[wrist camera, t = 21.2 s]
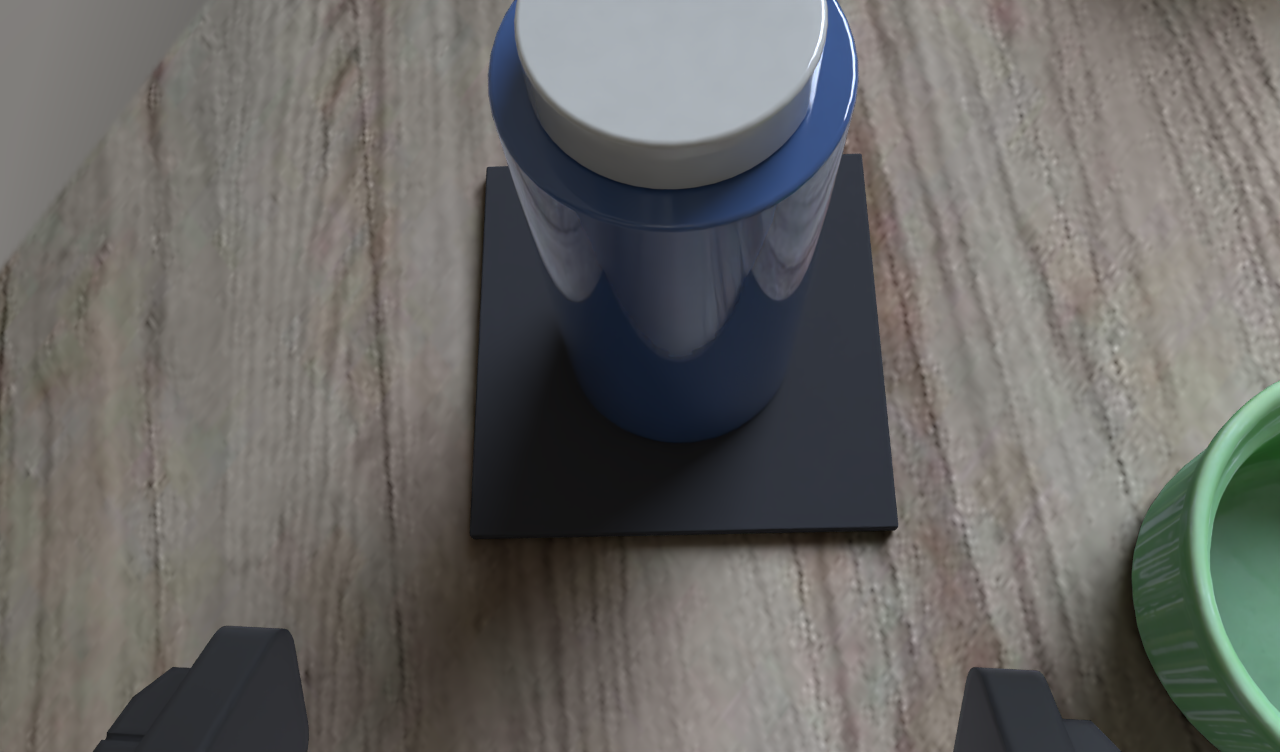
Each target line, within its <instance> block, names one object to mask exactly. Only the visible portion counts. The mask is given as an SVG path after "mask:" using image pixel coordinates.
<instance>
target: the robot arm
mask: <svg viewBox="0 0 1280 752" xmlns="http://www.w3.org/2000/svg"><path fill="white" fill-rule="evenodd" d="M308 741H309V727H308V719H307V714H306V708H305V702H304V696H303V690H302V685H301V679H300V673H299V667H298V661H297V655H296V650H295V644H294V640H293V637H292V635H291V633H290V632H289V631H288V630H287V629H280V628H261V627H242V626H223V627H221V628H220V629H219V630H218V631H217V632H216V633H215V634H214V635H213V637H212V638H211V640H210V641H209V643H208V644H207V645H206V647H205V648H204V650H203V651H202V653H201V654H200V656H199V657H198V659H197V660H196V661H195V663H194V664H193V666H192V667H191V668H179V667H172V668H171V669H170V670H168V671H167V672H166V673H164V674H163V675H162V676H160V677H159V678H158V679H156V680H155V681H154V682H152V683H151V684H150V685H148V686H147V687H146V688H144V689H143V690H142V691H140V692H139V693H138V694H136V695H135V696H134V697H133V698H132V699H131V700H130V702H129V703H128V705H127V706H126V707H125V709H124V710H123V711H122V713H121V714H120V715H119V717H118V718H117V719H116V721H115V722H114V724H113V725H112V726H111V728H110V729H109V730H108V732H107V737H106V739H105V740H101V741H100V743H99V744H98V745H97V747H96V748H95V749H94V751H93V752H307V750H308ZM953 752H1121V751H1120V750H1119V749H1118V748H1117V747H1116V746H1115V745H1114V744H1113V743H1112V742H1111V741H1110V739H1109V738H1108V737H1107V736H1106V735H1105V734H1104V733H1103V732H1102V731H1101V730H1100V729H1099V728H1098V727H1097V726H1096V725H1095V724H1094V723H1093V722H1092V721H1091V720H1075V719H1062V717H1061V715H1060V712H1059V710H1058V708H1057V705H1056V703H1055V700H1054V698H1053V696H1052V693H1051V691H1050V688H1049V686H1048V684H1047V681H1046V679H1045V677H1044V676H1043V674H1042V673H1041V672H1040V671H1036V670H1017V669H998V668H979V667H973V668H971V669H970V671H969V673H968V676H967V680H966V685H965V690H964V696H963V701H962V707H961V712H960V718H959V723H958V729H957V734H956V740H955V745H954V751H953Z"/></svg>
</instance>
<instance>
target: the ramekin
mask: <svg viewBox="0 0 1280 752" xmlns="http://www.w3.org/2000/svg"><path fill="white" fill-rule="evenodd" d="M1131 577H1132V589H1133V602H1134V608H1135V614H1136V621H1137V626H1138V629H1139V633H1140V636H1141V639H1142V642H1143V646H1144V649H1145V651H1146V653H1147V656H1148V658H1149V660H1150V662H1151V664H1152V666H1153V668H1154V670H1155V672H1156V674H1157V676H1158V678H1159V679H1160V681H1161V683H1162V684H1163V686H1164V688H1165V689H1166V691H1167V692H1168V694H1169V696H1170V698H1171V699H1172V700H1173V702H1174V703H1175V704H1176V705H1177V706H1178V708H1179V709H1180V710H1181V711H1182V713H1183V714H1184V715H1185V717H1186V718H1187V719H1188V721H1189V722H1190V723H1191V724H1192V725H1193V726H1194V727H1195V728H1196V729H1197V730H1198V731H1199V732H1200V733H1201V734H1202V735H1203V736H1204V737H1205V738H1206V739H1207V740H1208V741H1209V742H1210V743H1211V744H1213V745H1214V746H1215V747H1216V748H1218V749H1219V750H1220V751H1221V752H1280V381H1278V382H1276V383H1274V384H1272V385H1271V386H1269V387H1267V388H1266V389H1264V390H1263V391H1262V392H1260V393H1259V394H1257V395H1256V396H1255V397H1253V398H1252V399H1250V400H1249V401H1248V402H1247V403H1246V404H1245V405H1244V406H1242V407H1241V408H1240V409H1239V410H1238V411H1237V412H1236V413H1235V414H1234V415H1233V416H1232V417H1231V418H1230V419H1229V420H1228V421H1227V423H1226V424H1225V425H1224V426H1223V427H1222V428H1221V429H1220V430H1219V431H1218V433H1217V434H1216V435H1215V437H1214V438H1213V440H1212V441H1211V443H1210V444H1209V446H1208V447H1207V449H1205V450H1204V451H1203V452H1202V453H1200V454H1199V455H1198V456H1197V457H1195V458H1194V459H1193V460H1191V461H1190V462H1189V463H1188V464H1186V465H1185V466H1184V467H1183V468H1182V469H1181V470H1180V471H1179V472H1178V473H1177V474H1176V475H1175V476H1174V477H1173V478H1172V479H1171V480H1170V481H1169V482H1168V483H1167V484H1166V485H1165V487H1164V488H1163V489H1162V491H1161V492H1160V494H1159V495H1158V496H1157V498H1156V499H1155V501H1154V502H1153V504H1152V505H1151V506H1150V508H1149V510H1148V512H1147V514H1146V516H1145V518H1144V520H1143V523H1142V525H1141V528H1140V531H1139V535H1138V539H1137V543H1136V546H1135V550H1134V555H1133V566H1132V576H1131Z"/></svg>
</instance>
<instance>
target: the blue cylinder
mask: <svg viewBox="0 0 1280 752" xmlns="http://www.w3.org/2000/svg"><path fill="white" fill-rule="evenodd" d="M858 82H859V77H858V57H857V52H856V46H855V41H854V38H853V35H852V32H851V29H850V26H849V23H848V21H847V19H846V17H845V15H844V13H843V11H842V9H841V7H840V5H839V3H838V1H837V0H514V1H513V3H512V4H511V6H510V8H509V9H508V11H507V12H506V14H505V16H504V18H503V20H502V23H501V25H500V27H499V29H498V32H497V34H496V37H495V40H494V44H493V48H492V51H491V55H490V62H489V70H488V96H489V102H490V107H491V112H492V117H493V120H494V123H495V126H496V129H497V133H498V136H499V139H500V142H501V145H502V148H503V152H504V155H505V158H506V161H507V164H508V167H509V171H510V174H511V177H512V180H513V183H514V186H515V190H516V193H517V196H518V199H519V202H520V205H521V209H522V212H523V215H524V218H525V221H526V224H527V228H528V231H529V234H530V237H531V240H532V243H533V247H534V250H535V253H536V256H537V259H538V262H539V266H540V269H541V272H542V275H543V278H544V281H545V284H546V288H547V291H548V294H549V297H550V300H551V303H552V307H553V310H554V313H555V316H556V319H557V322H558V326H559V329H560V332H561V335H562V338H563V341H564V345H565V348H566V351H567V354H568V357H569V360H570V364H571V367H572V369H573V372H574V375H575V378H576V380H577V382H578V384H579V386H580V388H581V389H582V391H583V393H584V394H585V395H586V397H587V398H588V400H589V401H590V402H591V403H592V404H593V406H594V407H595V408H596V409H597V410H598V411H599V412H600V413H601V414H603V415H604V416H605V417H606V418H607V419H609V420H610V421H611V422H613V423H614V424H616V425H618V426H619V427H621V428H622V429H624V430H626V431H629V432H631V433H633V434H635V435H638V436H641V437H644V438H648V439H651V440H656V441H662V442H669V443H688V442H699V441H703V440H708V439H712V438H715V437H718V436H721V435H724V434H727V433H729V432H731V431H733V430H735V429H737V428H739V427H741V426H742V425H744V424H745V423H746V422H748V421H749V420H751V419H752V418H754V417H755V416H756V415H757V414H758V413H759V412H760V411H761V410H763V409H764V408H765V406H766V405H767V404H768V403H769V402H770V400H771V399H772V398H773V397H774V395H775V394H776V392H777V391H778V389H779V387H780V386H781V384H782V382H783V380H784V377H785V375H786V373H787V370H788V367H789V363H790V360H791V356H792V352H793V348H794V344H795V340H796V337H797V333H798V329H799V325H800V321H801V317H802V313H803V309H804V305H805V301H806V297H807V293H808V289H809V285H810V281H811V277H812V273H813V269H814V265H815V261H816V257H817V253H818V249H819V246H820V242H821V238H822V234H823V230H824V226H825V222H826V218H827V214H828V210H829V206H830V202H831V198H832V194H833V190H834V186H835V182H836V178H837V174H838V170H839V166H840V162H841V159H842V155H843V151H844V147H845V143H846V139H847V135H848V131H849V127H850V123H851V119H852V115H853V111H854V107H855V103H856V97H857V89H858Z"/></svg>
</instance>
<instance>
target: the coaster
mask: <svg viewBox="0 0 1280 752" xmlns="http://www.w3.org/2000/svg"><path fill="white" fill-rule="evenodd" d="M897 527H898V518H897V508H896V498H895V488H894V477H893V467H892V457H891V447H890V437H889V427H888V417H887V407H886V396H885V386H884V376H883V366H882V356H881V346H880V336H879V326H878V315H877V305H876V295H875V285H874V275H873V265H872V255H871V244H870V234H869V224H868V214H867V204H866V194H865V184H864V174H863V163H862V155H861V154H843V155H842V159H841V162H840V166H839V170H838V174H837V178H836V182H835V186H834V190H833V194H832V198H831V202H830V206H829V210H828V214H827V218H826V222H825V226H824V230H823V234H822V238H821V242H820V246H819V249H818V253H817V257H816V261H815V265H814V269H813V273H812V277H811V281H810V285H809V289H808V293H807V297H806V301H805V305H804V309H803V313H802V317H801V321H800V325H799V329H798V333H797V337H796V340H795V344H794V348H793V352H792V356H791V360H790V363H789V367H788V370H787V373H786V375H785V377H784V380H783V382H782V384H781V386H780V387H779V389H778V391H777V392H776V394H775V395H774V397H773V398H772V399H771V400H770V402H769V403H768V404H767V405H766V406H765V408H764V409H763V410H761V411H760V412H759V413H758V414H757V415H756V416H755V417H754V418H752V419H751V420H749V421H748V422H746V423H745V424H744V425H742V426H741V427H739V428H737V429H735V430H733V431H731V432H729V433H727V434H724V435H721V436H718V437H715V438H712V439H708V440H703V441H699V442H688V443H669V442H662V441H656V440H651V439H648V438H644V437H641V436H638V435H635V434H633V433H631V432H629V431H626V430H624V429H622V428H621V427H619V426H618V425H616V424H614V423H613V422H611V421H610V420H609V419H607V418H606V417H605V416H604V415H603V414H601V413H600V412H599V411H598V410H597V409H596V408H595V407H594V406H593V404H592V403H591V402H590V401H589V400H588V398H587V397H586V395H585V394H584V393H583V391H582V389H581V388H580V386H579V384H578V382H577V380H576V378H575V375H574V372H573V369H572V367H571V364H570V360H569V357H568V354H567V351H566V348H565V345H564V341H563V338H562V335H561V332H560V329H559V326H558V322H557V319H556V316H555V313H554V310H553V307H552V303H551V300H550V297H549V294H548V291H547V288H546V284H545V281H544V278H543V275H542V272H541V269H540V266H539V262H538V259H537V256H536V253H535V250H534V247H533V243H532V240H531V237H530V234H529V231H528V228H527V224H526V221H525V218H524V215H523V212H522V209H521V205H520V202H519V199H518V196H517V193H516V190H515V186H514V183H513V180H512V177H511V174H510V171H509V167H508V166H501V167H487V173H486V195H485V216H484V238H483V260H482V281H481V303H480V325H479V346H478V368H477V390H476V411H475V433H474V455H473V476H472V498H471V520H470V536H471V537H472V538H473V539H500V538H549V537H598V536H647V535H695V534H744V533H793V532H842V531H890V530H896V529H897Z"/></svg>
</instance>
